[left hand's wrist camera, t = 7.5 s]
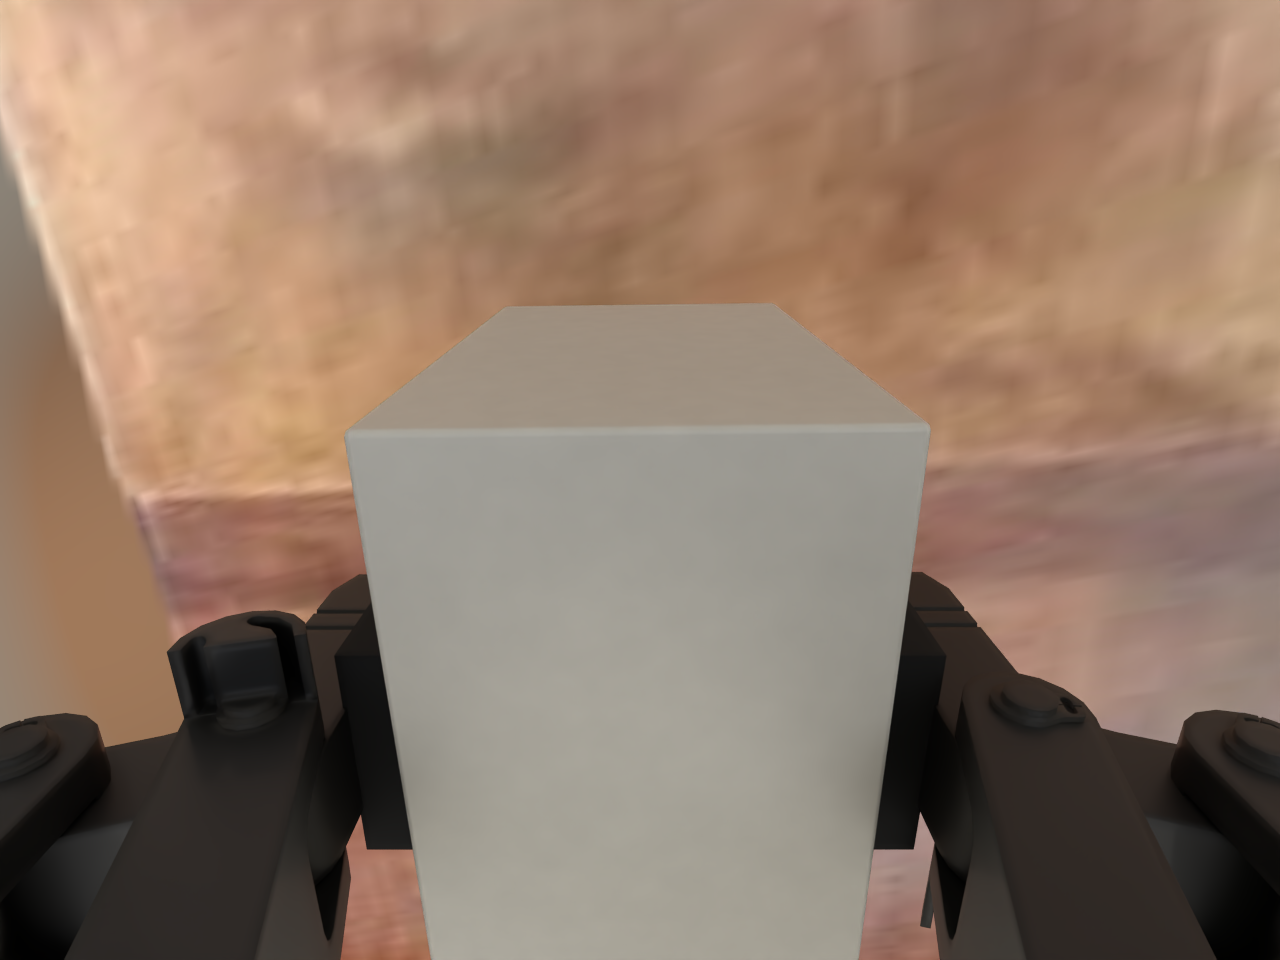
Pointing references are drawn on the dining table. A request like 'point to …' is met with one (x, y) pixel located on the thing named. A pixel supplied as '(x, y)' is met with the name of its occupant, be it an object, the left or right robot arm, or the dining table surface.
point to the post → (640, 630)
